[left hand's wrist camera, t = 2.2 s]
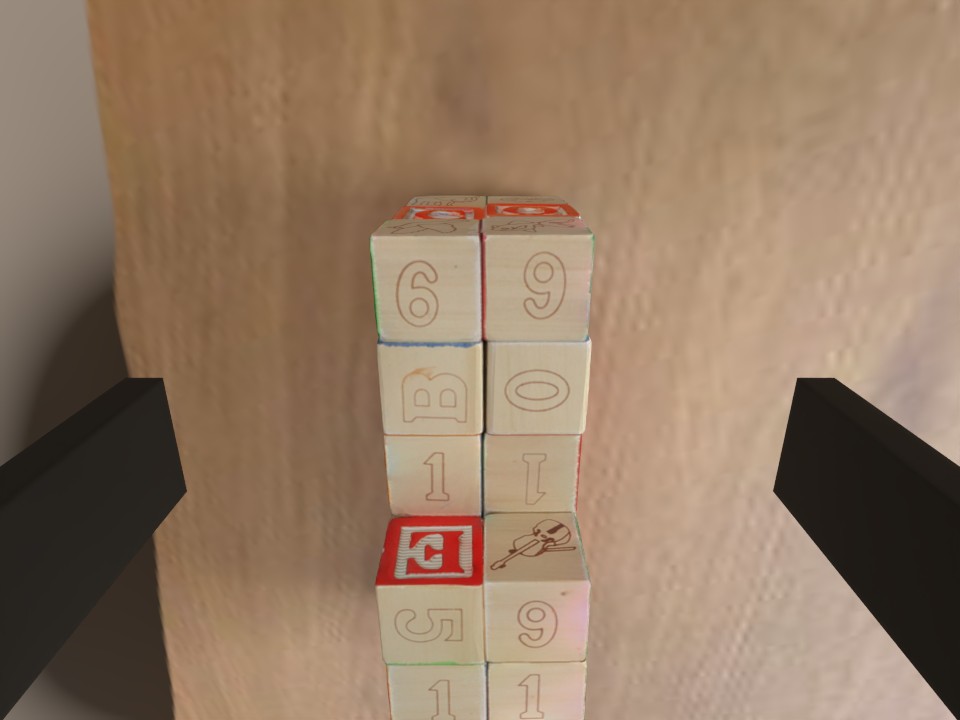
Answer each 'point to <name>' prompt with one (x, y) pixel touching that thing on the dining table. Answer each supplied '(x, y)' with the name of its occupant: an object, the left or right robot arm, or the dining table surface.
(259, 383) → the dining table surface
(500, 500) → the stack of blocks
